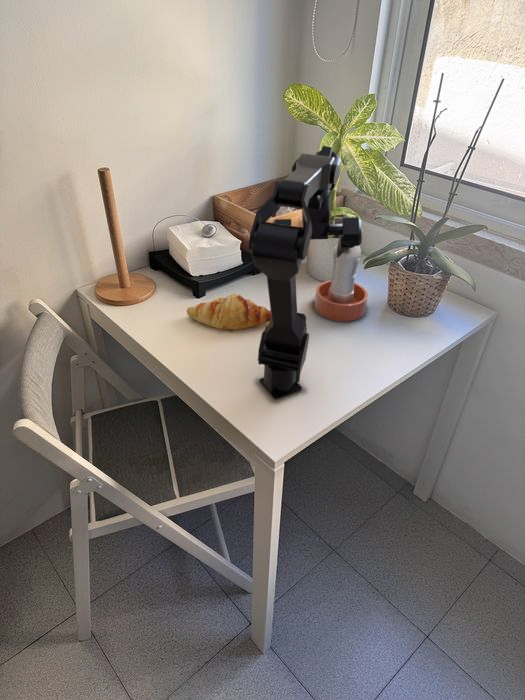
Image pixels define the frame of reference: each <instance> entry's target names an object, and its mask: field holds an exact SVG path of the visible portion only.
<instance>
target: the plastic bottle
mask: <svg viewBox="0 0 525 700" xmlns="http://www.w3.org/2000/svg"><path fill="white" fill-rule="evenodd" d="M337 246H338V242H337V243H336V245H335V246H334V248H333V268H332V277H331V280H332V281H331V285H330V288H329V291H328V300H329V301H331V302H334V303H339V304H352V302H353V299H354V283H355V278H356V273H357V269H358V266H359V263H360V260H361V255H362V250H361V247H360V246H361V245H359V246H355V247H354V248H349V249H348V250H346V251H345V252H344V253H343V254H342V255H341V256H339V257H338V258H337Z"/></svg>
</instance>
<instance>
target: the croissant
mask: <svg viewBox="0 0 525 700" xmlns="http://www.w3.org/2000/svg"><path fill="white" fill-rule="evenodd" d="M186 314H187V316H189V317H190V318H192V319H194V320H196V321H197V322H199V323H200V324H204V325H206V326H208V327H212V328H216V329H219V330H242V329H246V328H250V327H251V328H252V327H257V326H261V325H265V324H267V323H269V321H270V318H271V310H270V309H269V310H268V309H267V308H266V307H265V306H263V305H257V304H256V303H254V302H253V301H251V299H246V298H244V296H242V295H241V294H238V293H232V294H230V295H227V297H219V298H215V299H212V300H210V301H207V302H201V303H198V304H196V305H194V306H189V307H188V308H187V309H186Z"/></svg>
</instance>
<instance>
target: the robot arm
mask: <svg viewBox="0 0 525 700" xmlns="http://www.w3.org/2000/svg"><path fill="white" fill-rule="evenodd" d="M341 164H342V160H341V157H340V156H339V154H338V153H336V152H334V151H333V146H325V145H322V146H321V150H319V151H317V152H316V153H315V154H311V153H301V154H300V155H299V156H298V158H297V159H295V161H294V163H293V165H292V167H291V173H290V174H289V175H288V176H286V177H285V178H282V179H281V180H279V179H277V181H276V182H275V185H274V189H273V191H272V195H271V196H270V197H269V198H268V199H267V200H266V201H265V202H264V203H263V204H262V205H261V206H260V207H259V208H258V210H257V211H256V212H255V216H254V219H253V223H252V226H251V229H250V234H249V238H248V239H249V240H248V249H249V251H250V252H251V256H252V260H253V263H254V266H255V267H256V268H257V269H258V270H259V271H260V272H261V273H263V274H264V275H265V277H266V280H267V292H268V299H269V308H270V309H269V310H270V311H271V318H270V321H269V322H268V324H267V325H266V326H265V329H264V330H263V331H262V332H261V336H260V341H259V346H258V354H257V363H258V365H264V369H263V371H264V372H263V377H262V378H259V384H261V386H262V387H263V388H264V389H265V390H266V392H267V393H268V394H269V395H270V396H271V398H272V399H274V400H280V399H282V398H286V397H287V396H290V395H293V394H296V393H298V392H301V391H302V390H303V387H302V386H301V384H300V381H301V380H300V379H301V373H302V370H303V367H304V365H305V362H306V359H307V352H308V347H309V343H310V333H308V330H307V329H308V327H307V326H308V325H307V315H306V314H305V313H301V312H298V303H297V301H298V299H297V278H296V277H297V275H298V274H299V271H300V268H301V266H302V262H303V261H305V259H306V258H307V255H308V250H309V246H310V243H311V241H312V240H329V236H338V242H337V243H338V246H337V258H338V257H339V256H341V255H342V254H343V253H344V252H345V251H346V250H348V249H349V248H354V247H355V246H361V245H362V241H363V227H362V226H363V224H362V218H360V217H359V216H349V217H346V216H345V217H342V218H341V219H342V221H341V223H331V219H332V218H331V217H332V215H331V214H332V213H331V210H332V209H331V208H332V201H331V200H332V191H333V190H334V189H335V186H336V183H337V182H338V181H339V180H340V179H339V178H340V176H341V171H342V170H341V167H342V165H341ZM280 207H283V208H291V209H296V210H299V211H300V210H301V218H302V220H301V221H302V226H294V225H292V218H275V219H274V220H273V222H268V220H269V219H270V218H271V217H272V216H273V215H274V214H275V213H276V212H277V211H278V210H279V208H280Z"/></svg>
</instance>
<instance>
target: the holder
mask: <svg viewBox="0 0 525 700" xmlns="http://www.w3.org/2000/svg"><path fill="white" fill-rule="evenodd" d="M331 281H332V279H329V280H326V281H325V280H324V281H323V282H321V283H319V284H318V285H317V286H316V289H315V296H314V309H315V311H316V312H317V313H318V314H319V315H320V316H322V317H323V318H326V319H328V320H331V321H334V322H335V321H337V322H352V321H355V320H358V319H360V318H362V317H363V316H364V314H365V312H366V307H367V302H368V297H369V294H368V291H367V290H366V288H365V287H363V286H362V285H361V284H359V283H356V282H354V299H353V302H352V304H339V303H334V302H331V301H329V300H328V291H329V288H330V285H331Z"/></svg>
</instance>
